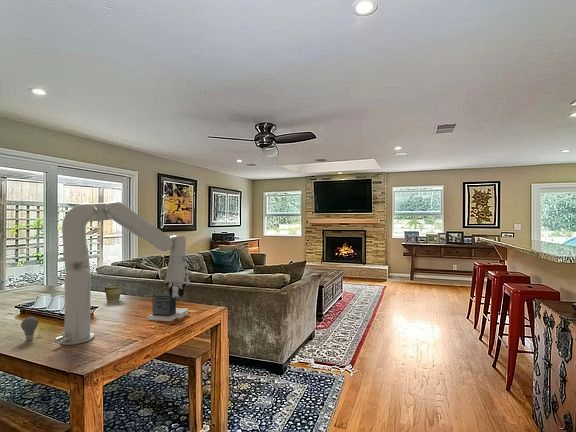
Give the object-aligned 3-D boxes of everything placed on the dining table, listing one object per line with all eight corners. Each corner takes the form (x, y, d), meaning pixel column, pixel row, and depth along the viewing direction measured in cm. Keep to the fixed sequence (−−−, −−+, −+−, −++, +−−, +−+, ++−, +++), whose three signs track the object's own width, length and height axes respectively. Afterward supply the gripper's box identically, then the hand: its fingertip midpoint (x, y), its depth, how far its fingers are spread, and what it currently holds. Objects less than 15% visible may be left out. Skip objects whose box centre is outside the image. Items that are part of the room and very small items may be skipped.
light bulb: (36, 336, 146) (36, 314, 146) (40, 339, 142) (40, 316, 143) (19, 340, 142) (19, 317, 142) (22, 343, 138) (22, 320, 138)
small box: (176, 312, 177) (176, 293, 177) (170, 316, 171) (170, 296, 171) (158, 311, 179) (158, 292, 179) (151, 315, 172) (152, 295, 172)
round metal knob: (178, 298, 162) (178, 286, 162) (169, 297, 163) (170, 285, 163) (182, 296, 167) (183, 284, 167) (174, 295, 168) (175, 283, 168)
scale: (175, 322, 167) (175, 316, 167) (146, 319, 171) (146, 314, 171) (193, 312, 185) (193, 307, 185) (167, 310, 189) (167, 305, 189)
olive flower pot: (117, 303, 204) (117, 287, 204) (101, 303, 204) (101, 287, 204) (127, 298, 217) (127, 283, 217) (111, 298, 217) (112, 283, 217)
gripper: (196, 259, 167) (195, 295, 167) (166, 258, 171) (165, 293, 170) (188, 261, 160) (187, 298, 159) (158, 259, 164) (157, 296, 163)
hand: (176, 295), depth 165 cm, fingers closed on round metal knob, 4 cm apart
